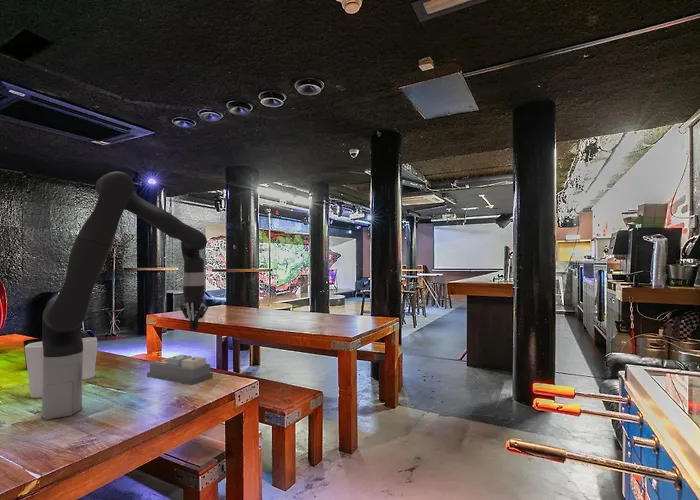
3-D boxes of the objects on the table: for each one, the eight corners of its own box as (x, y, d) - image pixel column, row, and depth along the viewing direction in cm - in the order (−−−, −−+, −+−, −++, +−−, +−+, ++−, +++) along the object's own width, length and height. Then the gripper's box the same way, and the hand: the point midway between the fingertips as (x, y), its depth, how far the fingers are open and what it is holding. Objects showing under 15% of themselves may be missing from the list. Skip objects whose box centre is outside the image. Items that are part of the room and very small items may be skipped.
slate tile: (191, 365, 139) (191, 355, 139) (178, 369, 134) (178, 359, 134) (180, 363, 142) (181, 354, 142) (167, 367, 136) (167, 357, 136)
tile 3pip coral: (178, 368, 142) (178, 359, 142) (164, 372, 137) (164, 363, 137) (167, 366, 145) (167, 357, 145) (154, 371, 139) (154, 361, 140)
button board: (212, 376, 137) (212, 363, 137) (191, 384, 128) (191, 370, 128) (169, 369, 147) (169, 357, 147) (147, 376, 138) (147, 363, 138)
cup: (27, 367, 153) (27, 339, 154) (49, 364, 156) (50, 337, 157) (19, 371, 146) (20, 342, 147) (43, 369, 149) (43, 340, 150)
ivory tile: (205, 367, 136) (205, 357, 136) (192, 371, 130) (192, 361, 131) (194, 365, 138) (194, 355, 139) (181, 369, 133) (181, 359, 133)
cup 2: (58, 386, 128) (59, 338, 128) (71, 391, 122) (72, 341, 123) (17, 396, 118) (19, 344, 119) (29, 402, 113) (31, 348, 113)
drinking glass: (101, 375, 140) (101, 337, 140) (86, 381, 133) (87, 341, 134) (85, 375, 140) (85, 337, 141) (70, 381, 134) (70, 340, 134)
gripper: (214, 284, 136) (214, 329, 136) (189, 283, 142) (189, 327, 141) (198, 285, 129) (198, 333, 129) (173, 284, 135) (173, 330, 134)
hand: (193, 330), depth 135 cm, fingers closed
